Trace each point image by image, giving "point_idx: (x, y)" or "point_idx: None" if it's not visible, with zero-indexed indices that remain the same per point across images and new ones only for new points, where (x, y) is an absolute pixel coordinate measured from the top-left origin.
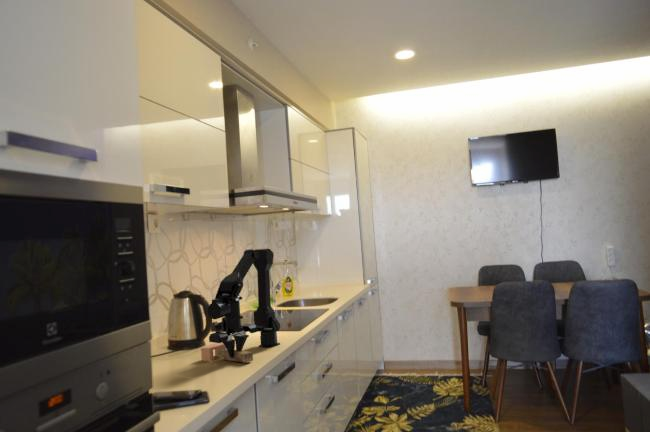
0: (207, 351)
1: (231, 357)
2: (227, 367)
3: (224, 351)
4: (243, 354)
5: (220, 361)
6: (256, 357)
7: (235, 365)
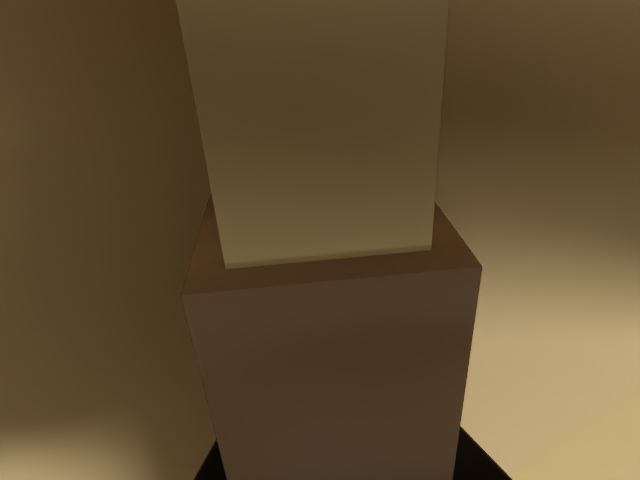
0: None
1: None
2: (66, 461)
3: (195, 340)
4: None
5: None
6: (611, 417)
7: (196, 471)
